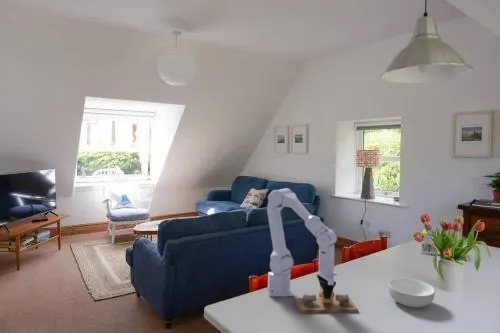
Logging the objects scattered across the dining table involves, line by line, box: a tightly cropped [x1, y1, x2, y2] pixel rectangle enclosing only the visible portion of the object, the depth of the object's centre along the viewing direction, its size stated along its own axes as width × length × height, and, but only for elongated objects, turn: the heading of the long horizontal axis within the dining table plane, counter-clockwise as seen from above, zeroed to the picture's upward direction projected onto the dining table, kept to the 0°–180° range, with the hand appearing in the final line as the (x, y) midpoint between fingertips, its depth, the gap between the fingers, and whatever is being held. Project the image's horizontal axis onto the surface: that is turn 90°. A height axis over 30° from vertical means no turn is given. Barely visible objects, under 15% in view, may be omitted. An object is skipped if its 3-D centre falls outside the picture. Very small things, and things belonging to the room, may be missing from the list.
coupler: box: [318, 285, 335, 303], centre depth 137 cm, size 6×4×5 cm
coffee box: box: [420, 228, 438, 256], centre depth 208 cm, size 12×12×12 cm
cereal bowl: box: [387, 277, 436, 309], centre depth 140 cm, size 17×17×7 cm
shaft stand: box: [294, 293, 359, 314], centre depth 137 cm, size 22×10×5 cm, turn 92°
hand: (325, 296), depth 137 cm, fingers closed on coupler, 4 cm apart
